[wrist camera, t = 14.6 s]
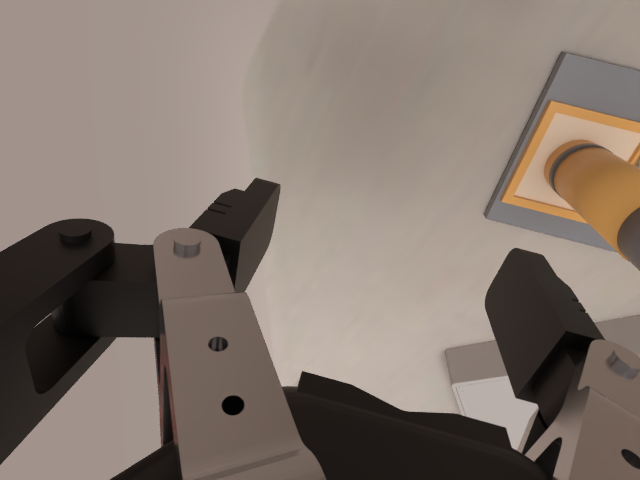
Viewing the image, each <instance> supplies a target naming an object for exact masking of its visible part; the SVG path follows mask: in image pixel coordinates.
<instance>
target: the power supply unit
mask: <svg viewBox="0 0 640 480" xmlns="http://www.w3.org/2000/svg"><path fill="white" fill-rule="evenodd" d="M594 324H595V325H596V327H597V328H598V329H599V331H600V332H601V334H602V335H603V337H604V338H605V340H607V341H611V342H614V343H616V344H619V345H621V346H623V347H625V348H627V349H629V350H630V351H632V352H634V353H635V354H637V355H638V356H639V357H640V315H636V316H631V317H625V318H619V319H614V320H608V321H602V322H597V323H594ZM445 353H446V359H447V364H448V369H449V375H450V380H451V386H452V389H453V391H454V394H455V397H456V400H457V403H458V406H459V409H460V412H461V415H462V416H466V417H470V418H473V419H477V420H480V421H484V422H488V423H491V424H495V425H498V426H502V427H506V429H507V433H508V436H509V440H510V443H511V447H512V448H513V449H515V450H517V449H518V447H519V444H520V442H521V439H522V437H523V434H524V432H525V429H526V427H527V424H528V422H529V419H530V417H531V416H532V414H533V413H534V412H535V411H536V410H537V408H538V405H537V404H535V403H531V402H528V401H524V400H520V399H517V398H515V395H514V392H513V389H512V386H511V383H510V380H509V378H508V375H507V372H506V369H505V366H504V363H503V360H502V357H501V354H500V351H499V348H498V345H497V342H496V340H494V341H489V342H483V343H477V344H472V345H466V346H460V347H455V348H449V349H446V351H445Z"/></svg>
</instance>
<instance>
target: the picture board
mask: <svg viewBox="0 0 640 480" xmlns="http://www.w3.org/2000/svg"><path fill="white" fill-rule="evenodd" d="M574 140H588V141H591V142H593V143H595V144H597V145H600V146H602V147H604V148H606V149H608V150H609V151H611V152H612V153H613V154H615V155H616V156H618V157H620V158H622V159H623V160H625V161H627V162H629V163H630V164H632V165H634V166H636V167H637V168H639V169H640V71H638V70H634V69H630V68H626V67H622V66H618V65H614V64H610V63H606V62H602V61H598V60H593V59H589V58H585V57H581V56H577V55H573V54H569V53H564V52H562V53H561V55H560V57H559V59H558V61H557V63H556V65H555V67H554V69H553V71H552V73H551V75H550V78H549V80H548V82H547V84H546V86H545V88H544V90H543V92H542V94H541V96H540V98H539V100H538V103H537V105H536V107H535V109H534V111H533V113H532V115H531V117H530V119H529V121H528V123H527V125H526V128H525V130H524V132H523V134H522V136H521V138H520V140H519V142H518V144H517V146H516V148H515V150H514V153H513V155H512V157H511V159H510V161H509V163H508V165H507V167H506V169H505V171H504V173H503V175H502V178H501V180H500V182H499V184H498V186H497V188H496V190H495V192H494V194H493V196H492V198H491V200H490V203H489V205H488V207H487V209H486V211H485V213H484V216H485V218H486V219H489V220H493V221H497V222H501V223H505V224H509V225H513V226H516V227H520V228H524V229H528V230H532V231H536V232H540V233H544V234H547V235H551V236H555V237H559V238H563V239H567V240H571V241H575V242H579V243H582V244H586V245H590V246H594V247H598V248H602V249H606V250H610V251H613V252H617V251H616V250H615V249H614V248H613V247H612V246H611V245H610V244H609V243H608V242H607V241H606V240H605V239H604V238H603V237H602V236H601V235H600V234H598V233H597V232H596V231H595V230H594V229H593V228H592V227H591V226H590V225H589V224H588V223H587V222H586V221H585V220H584V219H583V218H582V217H581V216H580V215H579V214H578V213H577V212H576V211H575V210H574V209H573V208H572V207H571V206H570V205H569V204H568V203H567V202H566V201H565V200H564V199H563V198H561V197H560V196H559V195H558V194H557V193H556V192H555V191H554V190H553V189H552V187H551V186H550V185H549V184H548V183H547V181H546V179H545V176H544V167H545V164H546V161H547V159H548V158H549V156H550V155H551V154H552V152H553V151H554V150H556V149H557V148H558V147H560V146H561V145H563V144H565V143H567V142H570V141H574ZM617 253H618V252H617Z"/></svg>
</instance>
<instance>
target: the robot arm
mask: <svg viewBox="0 0 640 480" xmlns="http://www.w3.org/2000/svg"><path fill="white" fill-rule="evenodd" d="M279 194H280V184H277V183H274V182H270V181H266V180H262V179H259V178H255V179H254V180H253V182H252V183H251V184H250V185H249V187H248V188H247V189H246V190H245V191H242V190H238V189H233V190H230V191H227V192H225V193H222V194H221V195H220V196H219V197H218V198H217V199H216V200H215V201H214V203H212V204H211V205H210V206H209V207H208V210H205V211H204V213H203V214H202V215H201V216H200V217H199V218H198V219H197V220H196V221H195V222H194V223H193V224H192V225H191V226H190V227H189V228H178V229H172V230H168V231H166V232H163V233H162V234H160V235H159V236H157V237H156V239H155V240H154V243H153V245H137V244H122V243H114V232H113V230H112V229H111V227H109V226H108V225H107V224H104V223H102V222H100V221H96V220H90V219H68V220H62V221H58V222H55V223H52V224H49V225H47V226H45V227H43V228H42V229H40V230H38V231H36V232H35V233H33V234H31V235H29V236H28V237H26V238H24V239H22V240H20V241H19V242H17V243H15V244H14V245H12V246H10V247H8V248H7V249H5V250H3V251H1V252H0V465H1V464H2V462H3V461H4V460H5V459H6V458H7V457H8V456H9V455H10V454H11V453H12V451H13V450H14V449H15V448H16V447H17V446H18V445H19V444H20V443H21V442H22V441H23V440H24V438H25V437H26V436H27V435H28V434H29V433H30V432H31V431H32V430H33V429H34V428H35V426H36V425H37V424H38V423H39V422H40V421H41V420H42V419H43V417H44V416H45V415H46V414H47V413H48V412H49V411H50V410H51V409H52V408H53V407H54V406H55V404H56V403H57V402H58V401H59V400H60V399H61V398H62V397H63V396H64V395H65V393H67V391H68V390H69V389H70V388H71V387H72V386H73V385H74V384H75V383H76V382H77V381H78V379H79V378H80V377H81V376H82V375H83V374H84V373H85V372H86V371H87V369H88V368H89V367H90V366H91V365H92V364H93V363H94V362H95V361H96V360H97V359H98V357H100V355H101V354H102V353H103V352H104V351H105V350H106V349H107V348H108V347H109V346H110V344H111V343H112V342H113V341H114V340H115V339H116V337H154V346H155V359H156V370H157V383H158V395H159V412H160V436H161V448H160V449H158V450H157V451H155V452H153V453H152V454H150V455H148V456H147V457H145V458H144V459H142V460H140V461H139V462H137V463H136V464H134V465H132V466H131V467H129V468H128V469H126V470H125V471H123V472H121V473H120V474H118V475H117V476H115V477H113V478H112V479H110V480H640V357H639V356H638V355H637V354H635V353H634V352H632V351H630V350H629V349H627V348H625V347H623V346H621V345H619V344H616V343H614V342H611V341H607V340H605V338H604V337H603V335H602V334H601V332H600V331H599V329H598V328H597V327H596V325H595V324H594V322H593V321H592V319H591V318H590V316H589V315H588V313H585V311H586V310H585V309H584V307H583V306H582V304H581V303H579V302H578V301H579V300H578V299H577V297H576V296H575V294H574V293H573V291H572V290H571V288H570V287H569V286H568V285H566V284H565V283H564V282H563V281H562V280H561V279H560V278H558V277H557V275H556V274H555V272H554V271H553V269H552V268H551V266H550V265H549V263H548V262H547V260H546V259H545V257H544V256H543V255H541V254H537V253H534V252H530V251H526V250H522V249H519V248H514V249H512V250H511V251H510V252H509V254H508V255H507V257H506V259H505V261H504V262H503V264H502V266H501V268H500V269H499V271H498V273H497V275H496V276H495V278H494V280H493V282H492V284H491V285H490V287H489V289H488V291H487V294H486V298H485V309H486V312H487V315H488V318H489V321H490V324H491V327H492V330H493V333H494V336H495V339H496V342H497V345H498V348H499V351H500V354H501V357H502V360H503V363H504V366H505V369H506V372H507V375H508V378H509V380H510V383H511V386H512V389H513V392H514V395H515V398H517V399H520V400H524V401H528V402H531V403H535V404H537V405H538V408H537V410H536V411H535V412H534V413H533V414H532V416H531V417H530V419H529V422H528V424H527V427H526V429H525V432H524V434H523V437H522V439H521V442H520V444H519V447H518V449H517V450H515V449H513V448H512V447H511V443H510V440H509V436H508V433H507V429H506V427H502V426H498V425H495V424H491V423H488V422H484V421H480V420H477V419H473V418H470V417H466V416H462V415H459V414H453V413H428V412H407V411H403V410H400V409H398V408H396V407H394V406H392V405H390V404H388V403H386V402H384V401H382V400H380V399H378V398H377V397H375V396H373V395H371V394H369V393H367V392H365V391H363V390H361V389H359V388H357V387H355V386H353V385H351V384H347V383H343V382H340V381H336V380H333V379H329V378H325V377H322V376H318V375H315V374H311V373H307V372H304V371H302V373H301V377H300V380H299V384H298V387H292V386H286V387H281V384H280V381H279V379H278V376H277V373H276V370H275V368H274V365H273V362H272V360H271V357H270V354H269V351H268V348H267V346H266V343H265V340H264V338H263V335H262V332H261V329H260V327H259V324H258V321H257V318H256V316H255V313H254V310H253V308H252V305H251V302H250V300H249V297H248V295H247V293H246V292H245V290H246V288H247V286H248V285H249V283H250V281H251V279H252V277H253V275H254V273H255V271H256V269H257V268H258V266H259V264H260V262H261V260H262V258H263V256H264V254H265V252H266V250H267V248H268V246H269V243H270V240H271V237H272V233H273V228H274V222H275V217H276V211H277V206H278V200H279ZM50 313H51V314H50ZM49 314H50V315H49ZM48 315H49V316H48ZM46 316H48V317H47V318H46V319H44V318H45V317H46ZM43 319H44V320H43ZM42 320H43V321H42ZM40 321H42V322H41V323H40V324H38V323H39V322H40ZM37 324H38V325H37ZM36 325H37V326H36ZM35 326H36V327H35ZM34 327H35V328H34Z"/></svg>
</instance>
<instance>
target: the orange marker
mask: <svg viewBox="0 0 640 480" xmlns="http://www.w3.org/2000/svg"><path fill="white" fill-rule="evenodd" d="M544 176H545V179H546V181H547V183H548V184H549V185H550V186H551V187H552V189H553V190H554V191H555V192H556V193H557V194H558V195H559V196H560V197H561V198H563V199H564V200H565V201H566V202H567V203H568V204H569V205H570V206H571V207H572V208H573V209H574V210H575V211H576V212H577V213H578V214H579V215H580V216H581V217H582V218H583V219H584V220H585V221H586V222H587V223H588V224H589V225H590V226H591V227H592V228H593V229H594V230H595V231H596V232H597V233H598V234H600V235H601V236H602V237H603V238H604V239H605V240H606V241H607V242H608V243H609V244H610V245H611V246H612V247H613V248H614V249H615V250H616V251H617V252H618V253H619V254H620V255H621V256H622V257H623V258H624V259H626V260H628V261H630V262H631V263H632V264H633V265H634V266H635V267H636V268H637V269H638V270H639V271H640V169H639V168H637V167H636V166H634V165H632V164H630V163H629V162H627V161H625V160H623V159H622V158H620V157H618V156H616V155H615V154H613V153H612V152H611V151H609V150H608V149H606V148H604V147H602V146H600V145H597V144H595V143H593V142H591V141H588V140H574V141H570V142H567V143H565V144H563V145H561V146H560V147H558V148H557V149H556V150H554V151H553V152H552V154H551V155H550V156H549V158H548V159H547V161H546V164H545V167H544Z"/></svg>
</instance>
